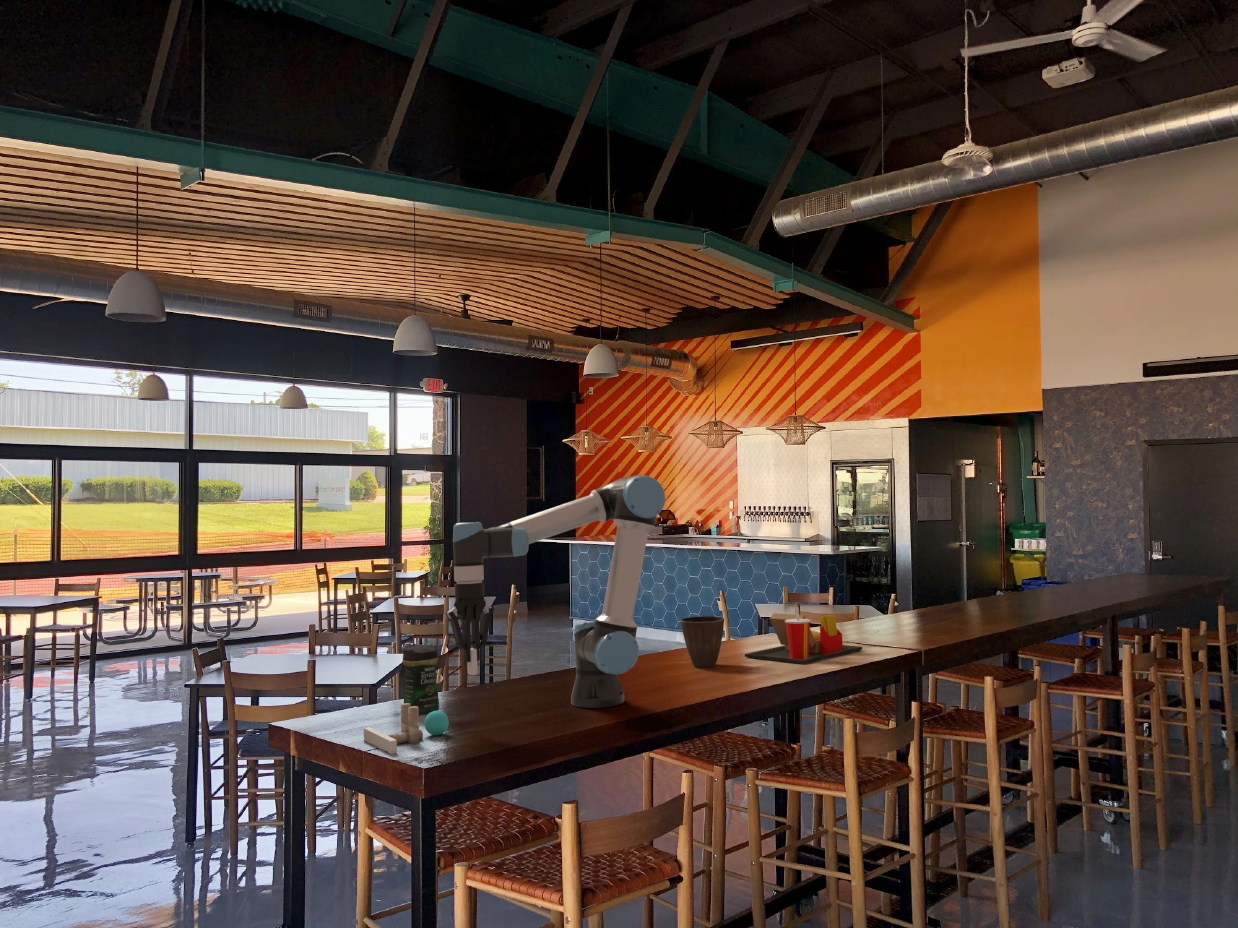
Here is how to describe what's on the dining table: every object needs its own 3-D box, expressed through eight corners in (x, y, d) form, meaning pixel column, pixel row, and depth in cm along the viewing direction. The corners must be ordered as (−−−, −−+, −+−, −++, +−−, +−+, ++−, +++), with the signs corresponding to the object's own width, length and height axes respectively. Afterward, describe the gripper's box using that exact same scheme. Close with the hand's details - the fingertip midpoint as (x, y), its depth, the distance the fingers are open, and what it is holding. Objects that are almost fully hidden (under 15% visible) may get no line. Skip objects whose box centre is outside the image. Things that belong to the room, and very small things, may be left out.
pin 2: (417, 740, 226) (416, 705, 227) (420, 742, 225) (419, 707, 225) (407, 742, 225) (406, 707, 226) (411, 744, 223) (410, 708, 224)
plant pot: (728, 668, 307) (726, 620, 308) (683, 670, 308) (681, 622, 308) (724, 661, 322) (722, 615, 323) (681, 663, 323) (679, 617, 323)
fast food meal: (862, 652, 333) (859, 600, 333) (803, 666, 309) (800, 610, 310) (804, 646, 351) (802, 597, 352) (744, 659, 328) (742, 606, 329)
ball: (416, 727, 232) (435, 739, 234) (425, 728, 227) (444, 740, 229) (428, 705, 235) (447, 717, 237) (437, 706, 230) (456, 717, 232)
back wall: (369, 739, 230) (369, 726, 230) (397, 752, 216) (396, 739, 216) (363, 740, 229) (363, 727, 230) (390, 754, 215) (390, 741, 215)
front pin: (419, 728, 229) (386, 734, 225) (422, 730, 227) (389, 736, 223) (419, 737, 229) (385, 743, 225) (422, 740, 227) (389, 746, 223)
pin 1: (409, 737, 231) (408, 702, 231) (412, 738, 229) (411, 704, 229) (399, 738, 229) (399, 704, 230) (403, 740, 227) (402, 705, 228)
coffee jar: (414, 717, 253) (412, 649, 254) (399, 713, 259) (397, 646, 260) (444, 711, 260) (442, 644, 261) (429, 707, 266) (427, 642, 266)
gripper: (485, 579, 245) (488, 669, 244) (439, 583, 238) (442, 676, 237) (498, 580, 239) (502, 672, 238) (452, 584, 232) (455, 679, 231)
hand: (472, 674), depth 237 cm, fingers closed
